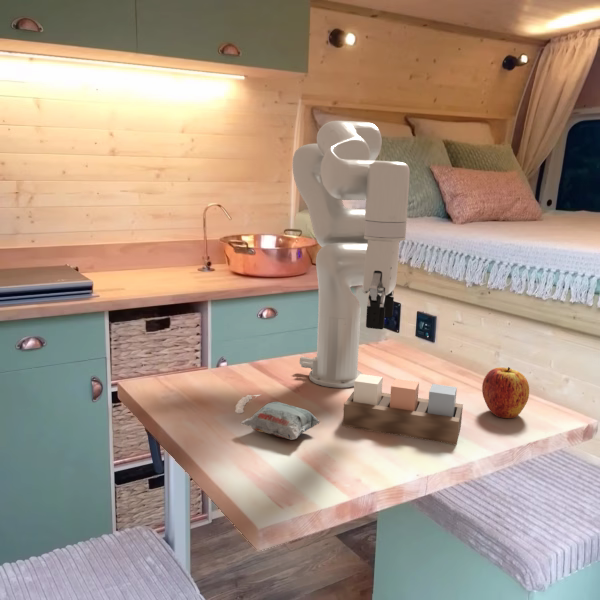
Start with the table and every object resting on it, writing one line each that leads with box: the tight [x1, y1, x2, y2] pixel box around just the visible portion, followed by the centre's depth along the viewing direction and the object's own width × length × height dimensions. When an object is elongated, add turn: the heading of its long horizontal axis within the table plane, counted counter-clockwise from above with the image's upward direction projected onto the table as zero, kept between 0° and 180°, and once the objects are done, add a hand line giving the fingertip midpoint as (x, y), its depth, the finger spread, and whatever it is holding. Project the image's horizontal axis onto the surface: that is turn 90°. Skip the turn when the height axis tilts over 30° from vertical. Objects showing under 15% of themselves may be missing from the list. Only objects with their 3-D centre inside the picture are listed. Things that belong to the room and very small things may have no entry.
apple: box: [481, 367, 530, 419], centre depth 123 cm, size 9×9×10 cm
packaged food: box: [240, 401, 321, 441], centre depth 111 cm, size 9×12×5 cm
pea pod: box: [235, 394, 261, 414], centre depth 124 cm, size 15×4×2 cm, turn 169°
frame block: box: [342, 390, 464, 446], centre depth 117 cm, size 21×9×4 cm, turn 71°
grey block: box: [428, 383, 458, 417], centre depth 114 cm, size 4×4×5 cm
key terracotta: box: [390, 378, 420, 411], centre depth 116 cm, size 4×4×5 cm
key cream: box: [353, 373, 384, 406], centre depth 118 cm, size 4×4×5 cm
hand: (379, 322), depth 115 cm, fingers open, 9 cm apart
